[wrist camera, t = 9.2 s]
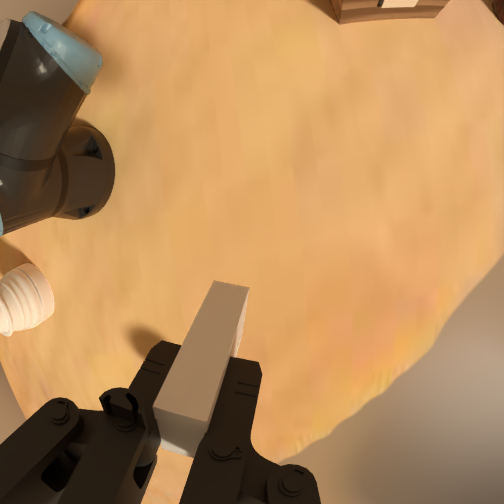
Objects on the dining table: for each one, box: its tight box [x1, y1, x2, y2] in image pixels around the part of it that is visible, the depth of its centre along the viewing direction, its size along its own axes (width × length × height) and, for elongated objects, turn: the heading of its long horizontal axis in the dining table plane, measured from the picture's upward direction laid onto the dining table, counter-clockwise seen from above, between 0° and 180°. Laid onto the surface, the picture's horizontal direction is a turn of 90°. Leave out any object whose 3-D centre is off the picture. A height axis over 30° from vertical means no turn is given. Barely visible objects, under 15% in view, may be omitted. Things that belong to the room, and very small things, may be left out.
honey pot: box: [0, 263, 54, 336], centre depth 47 cm, size 13×13×18 cm
